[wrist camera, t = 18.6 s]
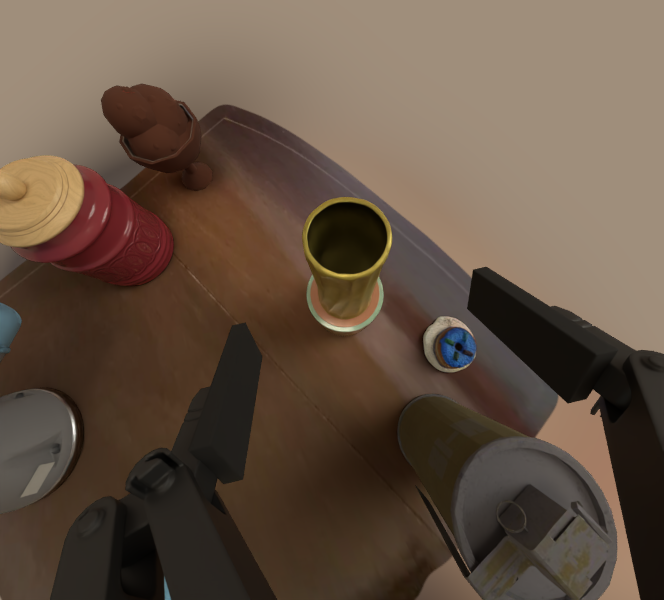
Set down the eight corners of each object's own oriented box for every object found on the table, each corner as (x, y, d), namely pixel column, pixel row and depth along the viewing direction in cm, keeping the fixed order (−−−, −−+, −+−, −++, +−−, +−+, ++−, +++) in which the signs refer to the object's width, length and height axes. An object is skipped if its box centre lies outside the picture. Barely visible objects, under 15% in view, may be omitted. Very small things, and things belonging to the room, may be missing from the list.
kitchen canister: (192, 240, 40) (79, 158, 23) (139, 303, 39) (-26, 265, 21) (137, 202, 42) (-4, 101, 25) (85, 260, 41) (-107, 194, 23)
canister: (434, 377, 34) (554, 414, 15) (491, 438, 32) (716, 572, 13) (378, 432, 33) (429, 549, 14) (434, 498, 31) (586, 743, 12)
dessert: (470, 384, 33) (464, 374, 29) (423, 367, 38) (412, 356, 33) (486, 331, 35) (482, 315, 31) (439, 321, 40) (430, 305, 35)
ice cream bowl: (214, 210, 41) (143, 134, 27) (157, 194, 43) (59, 113, 28) (237, 159, 43) (183, 61, 29) (182, 145, 44) (103, 45, 30)
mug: (303, 308, 37) (290, 295, 28) (355, 253, 39) (358, 223, 30) (346, 349, 36) (347, 348, 27) (398, 290, 37) (417, 270, 28)
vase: (315, 271, 29) (290, 196, 15) (367, 264, 28) (391, 182, 14) (321, 322, 27) (298, 293, 13) (375, 316, 27) (409, 280, 13)
